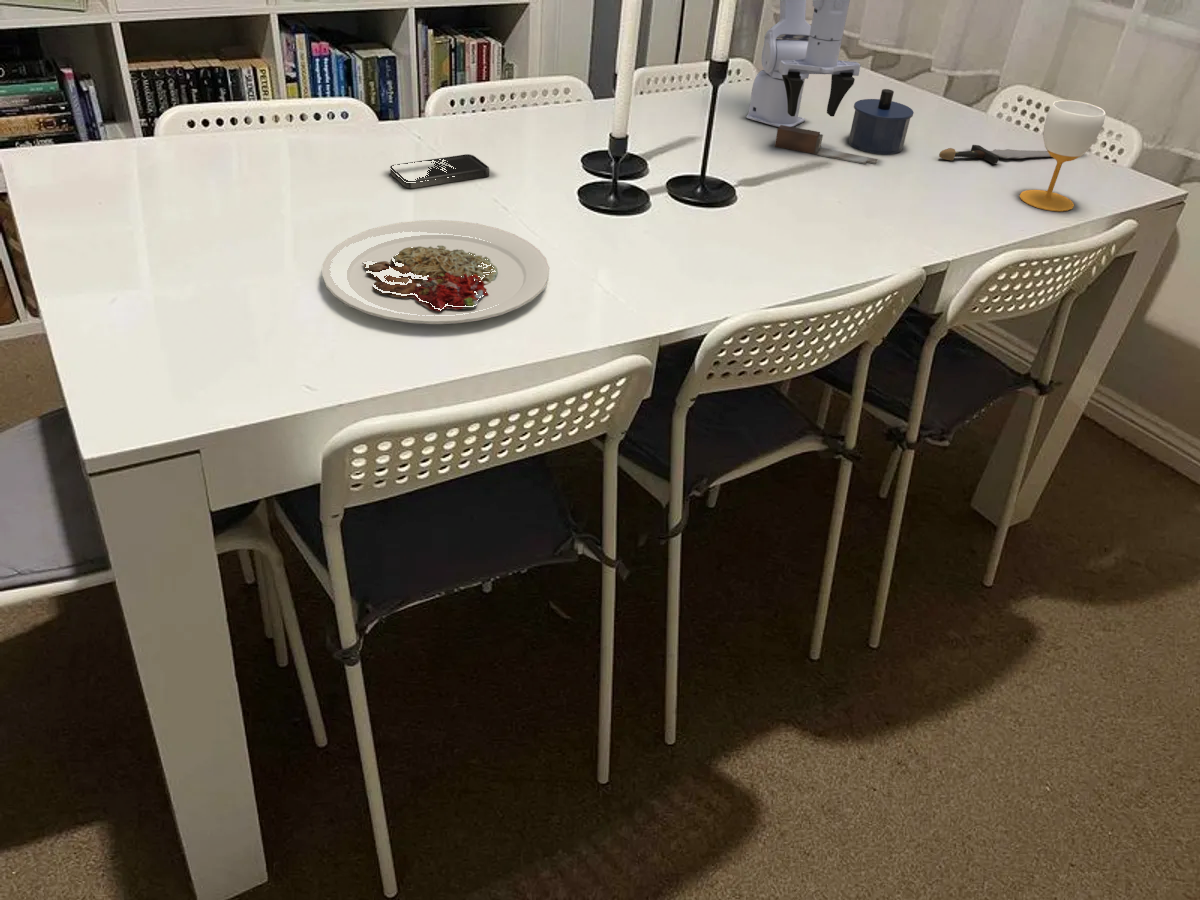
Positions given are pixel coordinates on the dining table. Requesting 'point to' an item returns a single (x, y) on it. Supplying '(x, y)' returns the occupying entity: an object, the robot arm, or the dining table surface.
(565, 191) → the dining table surface
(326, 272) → the plated food
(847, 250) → the dining table surface
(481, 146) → the dining table surface
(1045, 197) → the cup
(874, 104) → the pot lid
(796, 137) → the knife
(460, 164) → the phone
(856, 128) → the pot
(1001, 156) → the dagger
